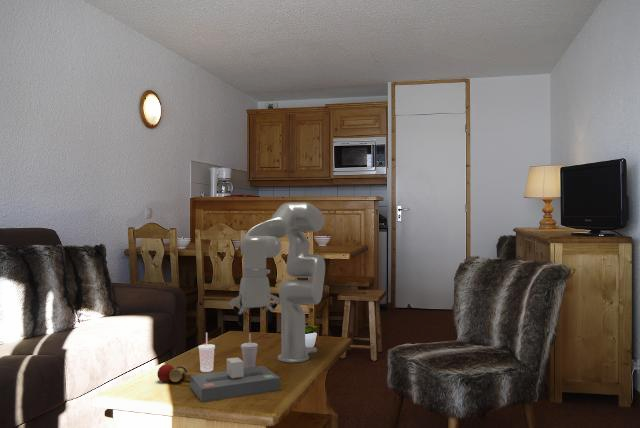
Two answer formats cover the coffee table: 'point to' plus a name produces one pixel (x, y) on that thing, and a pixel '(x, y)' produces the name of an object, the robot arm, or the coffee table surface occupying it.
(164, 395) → the coffee table surface
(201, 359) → the beverage cup
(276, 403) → the coffee table surface
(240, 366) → the breaker knob
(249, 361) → the smoothie
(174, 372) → the kendama
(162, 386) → the coffee table surface
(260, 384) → the switch panel
